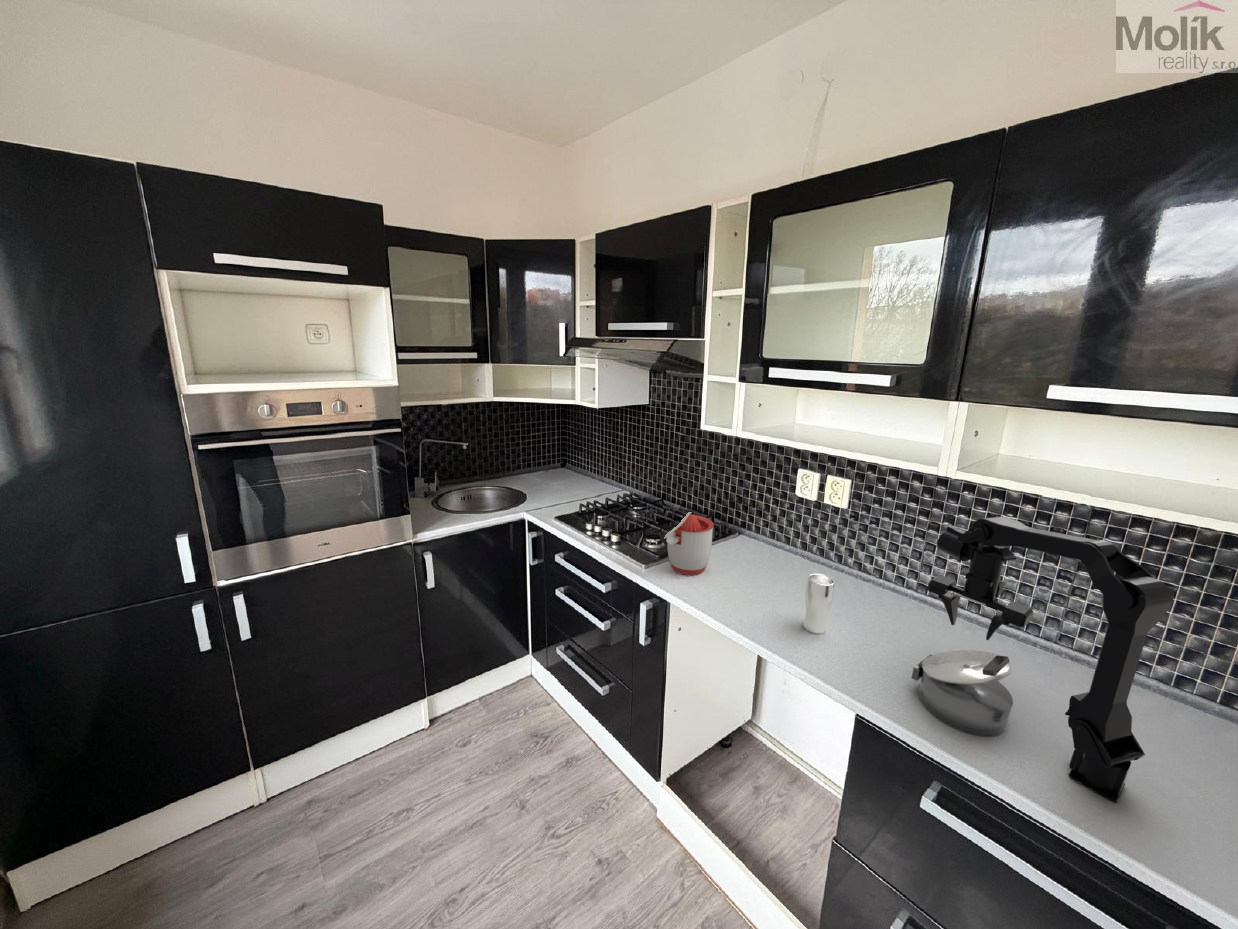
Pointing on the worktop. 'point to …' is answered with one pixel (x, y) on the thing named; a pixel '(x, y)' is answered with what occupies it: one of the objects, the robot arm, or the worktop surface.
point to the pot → (966, 704)
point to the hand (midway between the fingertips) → (970, 632)
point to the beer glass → (818, 602)
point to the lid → (966, 667)
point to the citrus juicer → (690, 545)
